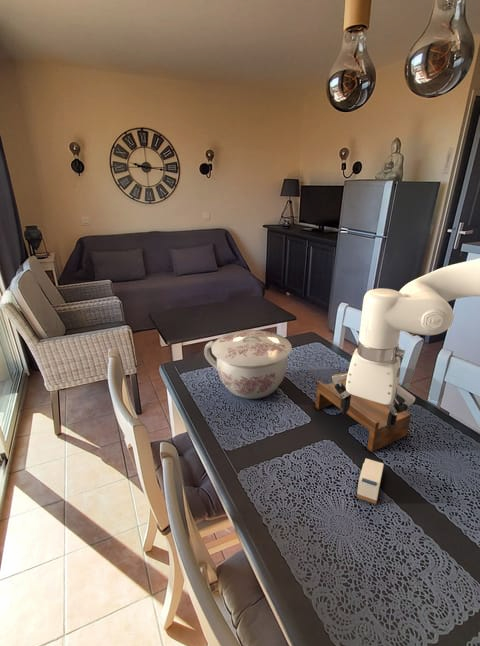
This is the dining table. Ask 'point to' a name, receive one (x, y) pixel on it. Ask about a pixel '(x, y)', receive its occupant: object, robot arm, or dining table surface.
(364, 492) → the slotted cream box
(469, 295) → the robot arm
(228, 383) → the chamber pot
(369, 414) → the shoe shelf
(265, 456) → the dining table surface
